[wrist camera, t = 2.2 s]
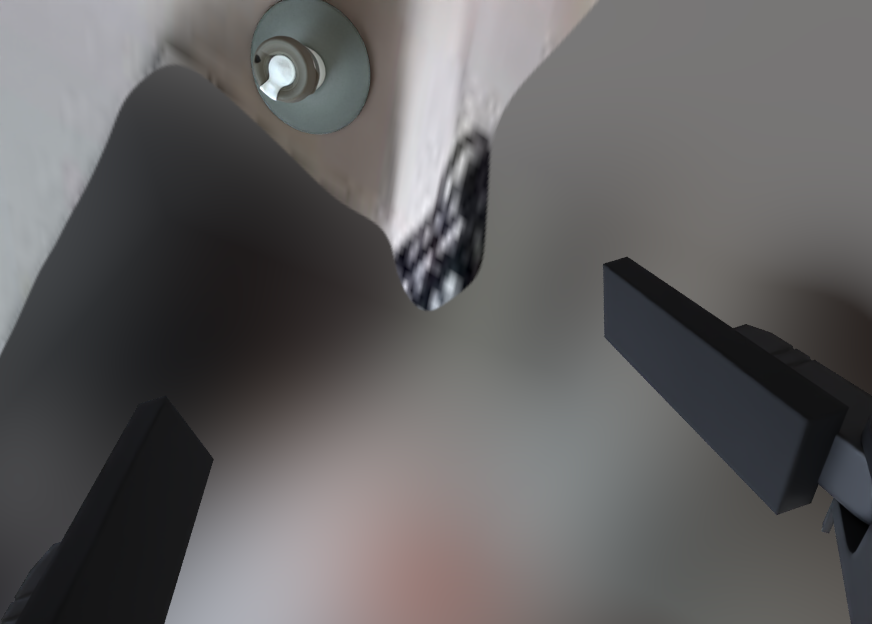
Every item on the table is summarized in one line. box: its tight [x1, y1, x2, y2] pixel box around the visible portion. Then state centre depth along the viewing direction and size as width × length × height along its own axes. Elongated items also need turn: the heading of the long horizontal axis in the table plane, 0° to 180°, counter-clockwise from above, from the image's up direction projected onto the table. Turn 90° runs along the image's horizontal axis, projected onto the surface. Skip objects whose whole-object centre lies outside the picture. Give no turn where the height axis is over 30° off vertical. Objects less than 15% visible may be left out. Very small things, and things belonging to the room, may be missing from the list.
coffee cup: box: [251, 0, 370, 134], centre depth 26 cm, size 12×12×5 cm
